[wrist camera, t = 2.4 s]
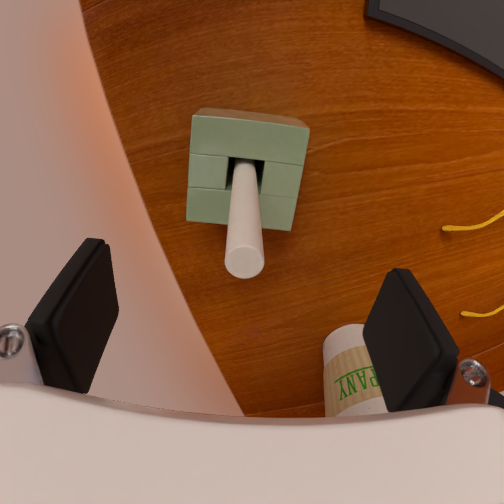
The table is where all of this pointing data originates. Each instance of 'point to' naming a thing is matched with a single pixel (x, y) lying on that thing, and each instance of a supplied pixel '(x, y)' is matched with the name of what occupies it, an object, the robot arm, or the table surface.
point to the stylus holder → (250, 147)
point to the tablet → (450, 26)
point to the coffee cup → (350, 375)
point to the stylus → (244, 223)
